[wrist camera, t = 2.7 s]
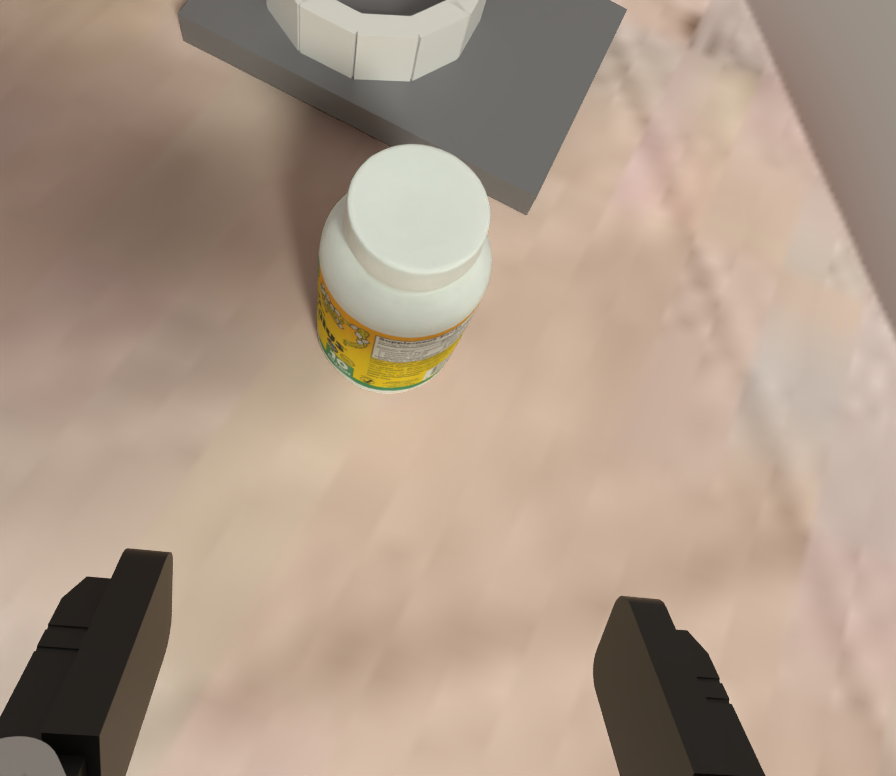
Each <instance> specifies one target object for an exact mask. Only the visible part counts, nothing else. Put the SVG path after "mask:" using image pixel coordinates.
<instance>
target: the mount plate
mask: <svg viewBox="0 0 896 776" xmlns="http://www.w3.org/2000/svg"><path fill="white" fill-rule="evenodd" d="M626 11H627V9H625V8H623V7H621V6H620V5H618V4H616V3H614V2H612V1H610V0H188V1H187V2H186V4H185V5H184V6H183V8H182V9H181V10H180V12H179V13H178V17H179V22H180V27H181V31H182V36H183V40H184V41H186V42H187V43H189V44H191V45H193V46H195V47H197V48H199V49H201V50H203V51H205V52H207V53H209V54H211V55H213V56H215V57H217V58H219V59H221V60H223V61H225V62H227V63H229V64H231V65H233V66H235V67H237V68H239V69H240V70H242V71H244V72H246V73H248V74H250V75H252V76H254V77H256V78H258V79H260V80H262V81H264V82H266V83H268V84H270V85H272V86H274V87H276V88H278V89H280V90H282V91H284V92H286V93H288V94H290V95H291V96H293V97H295V98H297V99H299V100H301V101H303V102H305V103H307V104H309V105H311V106H313V107H315V108H317V109H319V110H321V111H323V112H325V113H327V114H329V115H331V116H333V117H335V118H337V119H339V120H341V121H343V122H344V123H346V124H348V125H350V126H352V127H354V128H356V129H358V130H360V131H362V132H364V133H366V134H368V135H370V136H372V137H374V138H376V139H378V140H380V141H382V142H384V143H386V144H388V145H390V146H397V145H404V144H422V145H427V146H432V147H435V148H439V149H441V150H444V151H446V152H448V153H450V154H452V155H454V156H456V157H457V158H458V159H460V160H461V161H462V162H464V163H465V164H466V165H467V166H468V167H470V168H471V170H472V171H473V172H474V173H475V174H476V176H477V177H478V178H479V180H480V181H481V183H482V185H483V187H484V189H485V191H486V194H487V195H488V196H490V197H492V198H494V199H496V200H498V201H500V202H501V203H503V204H505V205H507V206H509V207H511V208H513V209H515V210H517V211H519V212H521V213H523V214H525V215H527V213H528V211H529V210H530V208H531V206H532V204H533V202H534V201H535V199H536V197H537V195H538V193H539V191H540V189H541V187H542V185H543V183H544V181H545V179H546V176H547V174H548V172H549V170H550V168H551V166H552V164H553V162H554V160H555V158H556V156H557V154H558V152H559V150H560V147H561V145H562V143H563V141H564V139H565V137H566V135H567V133H568V131H569V129H570V127H571V125H572V123H573V121H574V118H575V116H576V114H577V112H578V110H579V108H580V106H581V104H582V102H583V100H584V98H585V96H586V94H587V92H588V89H589V87H590V85H591V83H592V81H593V79H594V77H595V75H596V73H597V71H598V69H599V67H600V65H601V63H602V60H603V58H604V56H605V54H606V52H607V50H608V48H609V46H610V44H611V42H612V40H613V38H614V36H615V34H616V31H617V29H618V27H619V25H620V23H621V21H622V19H623V17H624V15H625V13H626Z"/></svg>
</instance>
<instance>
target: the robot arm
mask: <svg viewBox="0 0 896 776" xmlns="http://www.w3.org/2000/svg"><path fill="white" fill-rule="evenodd" d="M172 575H173V556H172V553H171V552H161V551H151V550H140V549H129V548H127V549H125V550H124V552H123V554H122V556H121V558H120V560H119V562H118V564H117V567H116V569H115V571H114V573H113V575H112V578H111V579H109V578H97V577H86V578H85V579H83V580H82V581H81V582H80V583H79V584H78V585H76V586H75V587H74V588H73V589H72V590H71V591H70V592H68V593H67V594H66V595H65V596H64V597H63V598H62V599H61V601H60V603H59V605H58V606H57V608H56V610H55V612H54V614H53V616H52V618H51V620H50V622H49V624H48V628H47V630H45V632H44V633H43V635H42V637H41V639H40V641H39V643H38V645H37V650H36V651H34V653H33V655H32V657H31V659H30V660H29V662H28V664H27V666H26V668H25V670H24V672H23V674H22V676H21V678H20V680H19V682H18V684H17V686H16V687H15V689H14V691H13V693H12V695H11V697H10V699H9V701H8V703H7V705H6V707H5V709H4V711H3V713H2V714H1V716H0V776H125V775H126V772H127V769H128V766H129V763H130V760H131V757H132V754H133V751H134V748H135V745H136V742H137V739H138V735H139V732H140V729H141V726H142V723H143V720H144V717H145V714H146V711H147V708H148V705H149V702H150V699H151V695H152V692H153V689H154V686H155V683H156V680H157V677H158V674H159V671H160V668H161V665H162V662H163V659H164V655H165V652H166V648H167V644H168V639H169V634H170V627H171V617H172ZM593 679H594V686H595V690H596V694H597V697H598V701H599V704H600V708H601V711H602V715H603V718H604V722H605V725H606V729H607V732H608V736H609V739H610V742H611V746H612V749H613V753H614V756H615V760H616V763H617V767H618V770H619V774H620V776H765V774H764V772H763V770H762V768H761V766H760V763H759V761H758V759H757V757H756V755H755V753H754V751H753V748H752V746H751V744H750V742H749V740H748V738H747V736H746V734H745V731H744V729H743V727H742V725H741V723H740V721H739V719H738V716H737V714H736V712H735V710H734V708H733V706H732V704H729V697H728V695H727V693H726V691H725V689H724V687H723V684H722V683H720V682H719V679H720V678H719V676H718V674H717V672H716V669H715V667H714V665H713V663H712V661H711V659H710V657H709V654H708V653H707V652H706V651H705V650H704V648H703V647H702V646H701V645H700V644H699V643H698V642H697V641H696V640H695V639H694V637H693V636H692V635H691V634H690V633H689V632H688V631H686V630H676V629H675V626H674V624H673V622H672V619H671V617H670V615H669V613H668V610H667V608H666V606H665V604H664V603H663V602H662V601H661V600H659V599H649V598H638V597H628V596H620V597H619V598H618V599H617V600H616V602H615V604H614V607H613V609H612V612H611V614H610V617H609V620H608V622H607V625H606V627H605V630H604V633H603V635H602V638H601V640H600V643H599V645H598V648H597V651H596V654H595V658H594V665H593Z"/></svg>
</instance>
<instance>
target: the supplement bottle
mask: <svg viewBox="0 0 896 776" xmlns="http://www.w3.org/2000/svg"><path fill="white" fill-rule="evenodd" d="M489 225H490V206H489V201H488V197H487V194H486V191H485V189H484V187H483V185H482V183H481V181H480V180H479V178H478V177H477V176H476V174H475V173H474V172H473V171H472V170H471V168H470V167H468V166H467V165H466V164H465V163H464V162H462V161H461V160H460V159H458V158H457V157H456V156H454V155H452V154H450V153H448V152H446V151H444V150H441V149H439V148H435V147H432V146H427V145H422V144H404V145H397V146H392V147H389V148H387V149H384V150H382V151H380V152H378V153H376V154H374V155H372V156H371V157H370V158H368V159H367V160H366V161H365V162H364V163H363V164H362V165H361V166H360V167H359V169H358V170H357V171H356V173H355V175H354V176H353V178H352V180H351V183H350V186H349V189H348V193H347V194H345V195H344V196H343V197H342V198H341V199H340V200H339V201H338V203H337V204H336V205H335V206H334V208H333V209H332V211H331V212H330V214H329V216H328V218H327V220H326V222H325V225H324V228H323V231H322V235H321V240H320V247H319V257H318V259H319V261H318V262H319V264H318V303H317V333H318V338H319V342H320V345H321V348H322V351H323V353H324V354H325V356H326V358H327V359H328V361H329V362H330V363H331V365H332V366H333V367H334V368H335V369H336V370H337V371H338V372H339V373H340V374H341V375H342V376H343V377H344V378H345V379H347V380H348V381H349V382H351V383H352V384H354V385H356V386H358V387H360V388H362V389H364V390H367V391H371V392H375V393H384V394H393V393H401V392H406V391H410V390H413V389H415V388H417V387H419V386H421V385H423V384H425V383H427V382H428V381H430V380H431V379H432V378H434V377H435V376H436V375H437V374H438V373H439V372H440V370H441V369H442V368H443V367H444V365H445V364H446V362H447V361H448V359H449V357H450V356H451V354H452V352H453V351H454V349H455V347H456V345H457V344H458V342H459V340H460V338H461V336H462V334H463V332H464V330H465V328H466V327H467V325H468V323H469V321H470V320H471V318H472V316H473V314H474V312H475V311H476V309H477V307H478V305H479V303H480V301H481V299H482V297H483V295H484V293H485V291H486V288H487V285H488V282H489V278H490V274H491V265H492V255H491V247H490V242H489V238H488V235H487V233H488V229H489Z"/></svg>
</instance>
